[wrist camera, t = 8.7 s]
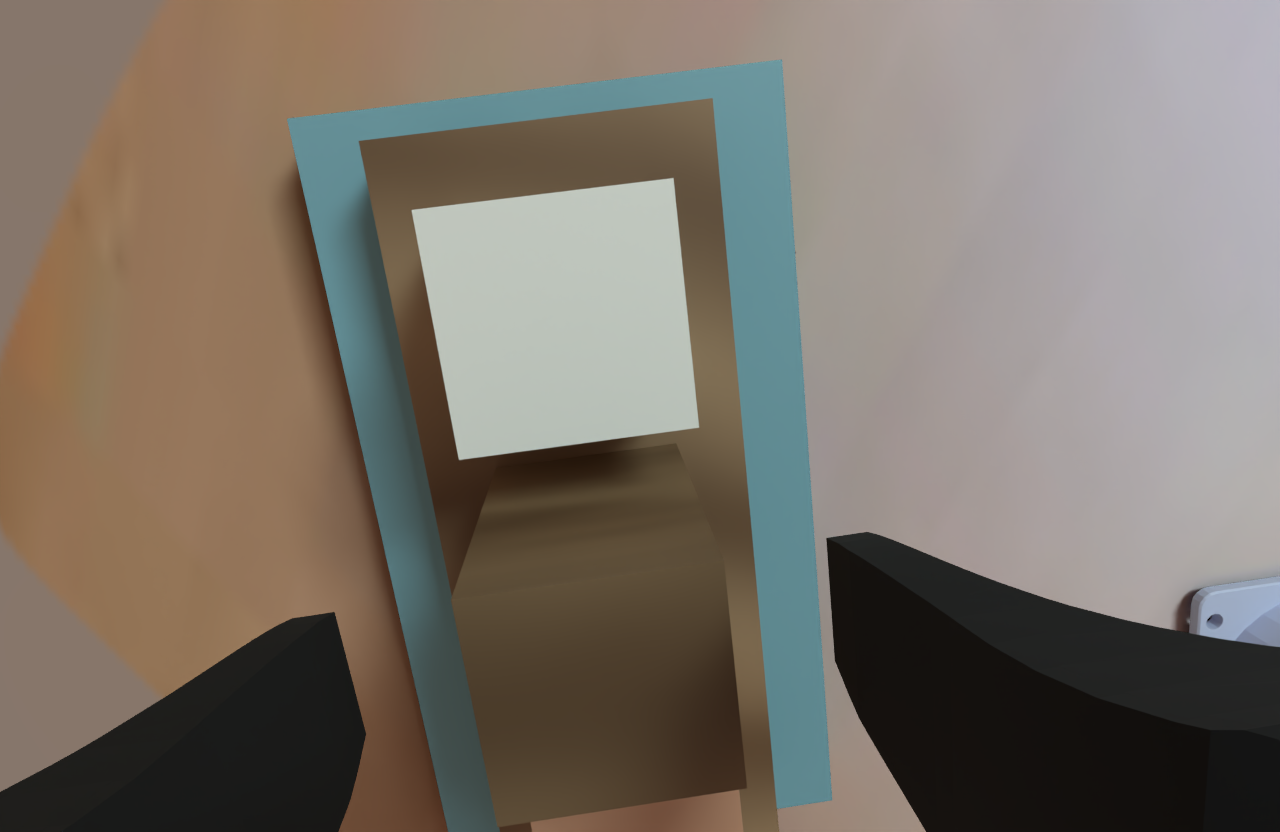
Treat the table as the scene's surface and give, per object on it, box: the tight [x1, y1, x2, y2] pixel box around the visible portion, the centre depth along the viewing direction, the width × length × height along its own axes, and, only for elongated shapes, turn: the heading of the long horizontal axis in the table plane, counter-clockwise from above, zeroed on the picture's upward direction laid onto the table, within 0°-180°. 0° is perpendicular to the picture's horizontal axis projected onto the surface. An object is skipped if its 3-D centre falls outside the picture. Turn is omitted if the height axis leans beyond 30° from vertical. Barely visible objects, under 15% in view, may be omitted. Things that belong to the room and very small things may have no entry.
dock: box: [287, 60, 832, 832], centre depth 21 cm, size 20×11×2 cm, turn 7°
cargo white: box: [412, 178, 699, 460], centre depth 14 cm, size 4×4×4 cm
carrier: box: [359, 98, 779, 832], centre depth 16 cm, size 18×7×8 cm, turn 7°
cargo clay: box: [530, 790, 743, 832], centre depth 17 cm, size 4×4×4 cm
